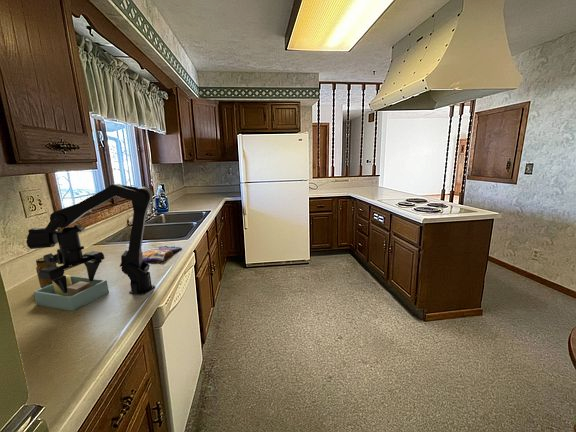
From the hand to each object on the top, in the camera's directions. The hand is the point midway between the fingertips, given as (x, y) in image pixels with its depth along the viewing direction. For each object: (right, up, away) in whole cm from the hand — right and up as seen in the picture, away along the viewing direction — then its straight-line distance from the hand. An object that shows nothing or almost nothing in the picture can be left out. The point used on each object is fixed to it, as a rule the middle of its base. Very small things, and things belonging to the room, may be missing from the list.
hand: (78, 286), depth 96 cm
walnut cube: (0, -4, +1) cm, 4 cm away
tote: (-3, -5, +2) cm, 6 cm away
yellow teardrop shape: (-7, -4, +3) cm, 9 cm away
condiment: (-19, -3, +12) cm, 23 cm away
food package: (+8, +4, +45) cm, 46 cm away
